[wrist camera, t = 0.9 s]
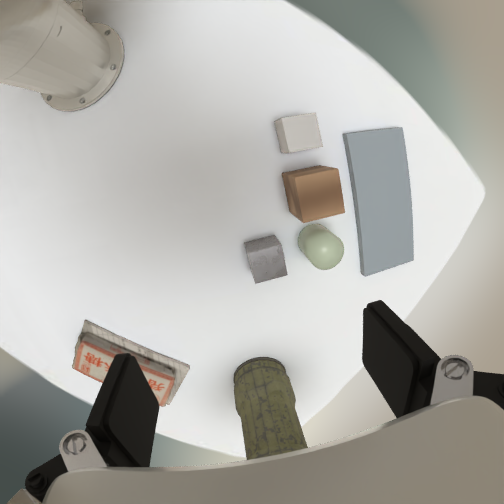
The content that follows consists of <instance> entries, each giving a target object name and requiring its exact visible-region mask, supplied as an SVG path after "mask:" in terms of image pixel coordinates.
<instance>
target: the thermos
mask: <svg viewBox="0 0 504 504" xmlns="http://www.w3.org/2000/svg"><path fill="white" fill-rule="evenodd" d="M234 383H235V385H234V395H235V404H236V410H237V412H238V414H239V416H240V417H241V422H242V429H243V436H244V443H245V450H246V457H247V460H251V459H257V458H263V457H268V456H273V455H278V454H283V453H288V452H292V451H297V450H301V449H305V448H308V447H307V444H306V441H305V438H304V435H303V432H302V429H301V425H300V422H299V419H298V416H297V413H296V410H295V401H296V399H295V395H294V392H293V389H292V386H291V383H290V380H289V377H288V376H287V375H286V371H285V368H284V366H283V365H282V364H281V362H279V361H277V360H276V359H273V358H268V357H258V358H254V359H250V360H248V361H246V362H244V363H242V364H241V365H240V366H239V367H238V368H237V370H236V372H235V373H234Z"/></svg>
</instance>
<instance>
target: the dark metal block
mask: <svg viewBox="0 0 504 504" xmlns="http://www.w3.org/2000/svg"><path fill="white" fill-rule="evenodd" d="M244 244H245V248H246V252H247V256H248V260H249V263H250V267H251V271H252V274H253V278H254V281H255V284H256V283H260V282H264V281H267V280H271V279H275V278H279V277H282V276H286V275H287V270H286V265H285V260H284V255H283V250H282V245H281V243H280V242H279V240H278V239H277V238H276V236H275V235H273V236H269V237H265V238H261V239H257V240H253V241H250V242H246V243H244Z"/></svg>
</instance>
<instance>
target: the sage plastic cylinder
mask: <svg viewBox="0 0 504 504" xmlns="http://www.w3.org/2000/svg"><path fill="white" fill-rule="evenodd" d="M298 245H299V248H300V250H301V251H302V252H303V253H304V254H305V256H306V257H307V258H308V259H309V260H310V262H311V263H312V264H313V265H314V266H315V267H316V268H318V269H321V270H327V269H331V268H333V267H335V266H336V265H337V264H338V263H339V262H340V261H341V259H342V257H343V254H344V246H343V243H342V241H341V240H340V239H339V238H338V237H337V236H336V235H334V234H333V233H332V232H330V231H329V230H328V229H326V228H325V227H324V226H322V225H320V224H310V225H308V226H306V227H305V228H304V229H303V230H302V231H301V232H300V234H299V237H298Z"/></svg>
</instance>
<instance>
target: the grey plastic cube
mask: <svg viewBox="0 0 504 504" xmlns="http://www.w3.org/2000/svg"><path fill="white" fill-rule="evenodd" d="M274 122H275V127H276V131H277V135H278V140H279V144H280V149H281V153H292V152H297V151H302V150H308V149H313V148H319V147H323V144H322V139H321V135H320V130H319V125H318V121H317V116H316V113H310V114H303V115H296V116H290V117H284V118H280V119H278V120H276V121H274Z"/></svg>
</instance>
